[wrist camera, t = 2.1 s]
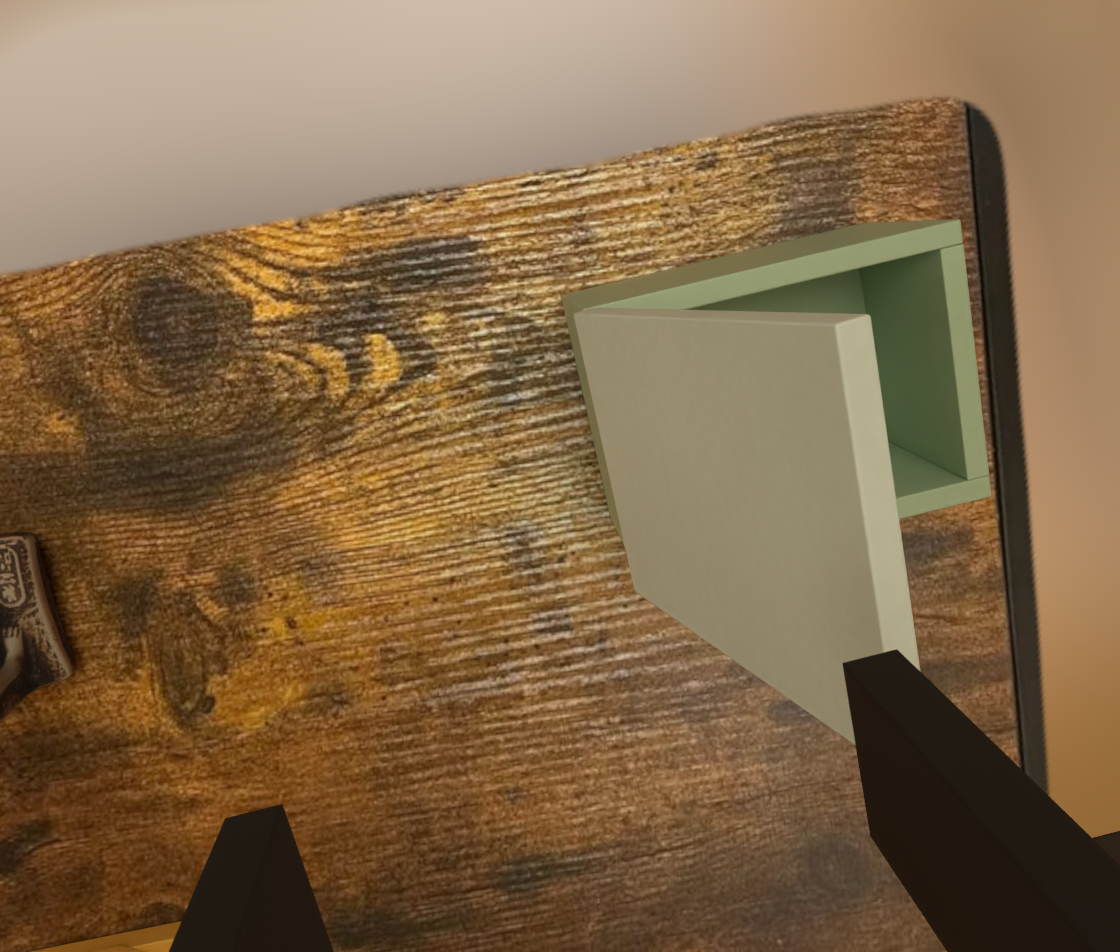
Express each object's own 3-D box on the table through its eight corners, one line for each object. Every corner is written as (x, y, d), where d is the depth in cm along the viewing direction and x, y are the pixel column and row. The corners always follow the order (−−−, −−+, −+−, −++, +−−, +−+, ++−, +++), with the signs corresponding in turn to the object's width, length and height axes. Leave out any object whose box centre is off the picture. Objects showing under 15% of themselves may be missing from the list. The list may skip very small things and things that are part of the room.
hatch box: (864, 222, 38) (961, 218, 31) (895, 448, 41) (992, 496, 33) (560, 294, 38) (582, 309, 30) (610, 518, 40) (642, 583, 33)
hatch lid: (872, 312, 17) (836, 324, 17) (935, 765, 20) (904, 780, 20) (595, 307, 30) (572, 313, 30) (654, 584, 32) (634, 592, 32)
